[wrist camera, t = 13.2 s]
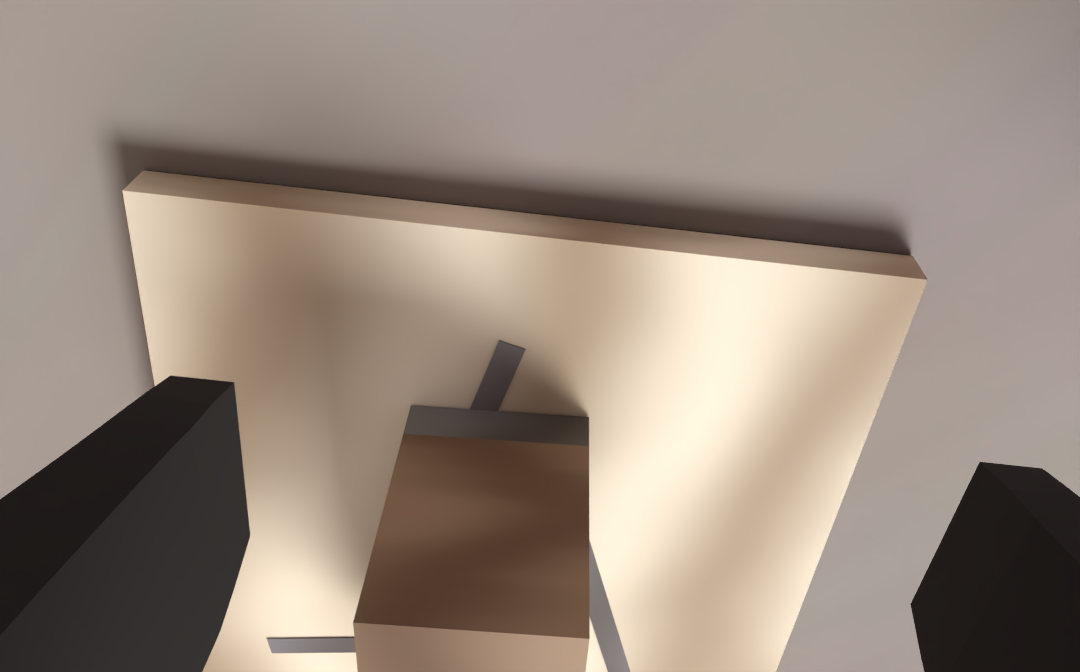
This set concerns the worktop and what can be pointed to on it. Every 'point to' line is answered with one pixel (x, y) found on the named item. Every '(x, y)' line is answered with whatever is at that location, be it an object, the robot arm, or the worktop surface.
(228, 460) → the robot arm
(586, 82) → the worktop surface
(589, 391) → the board
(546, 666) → the block
